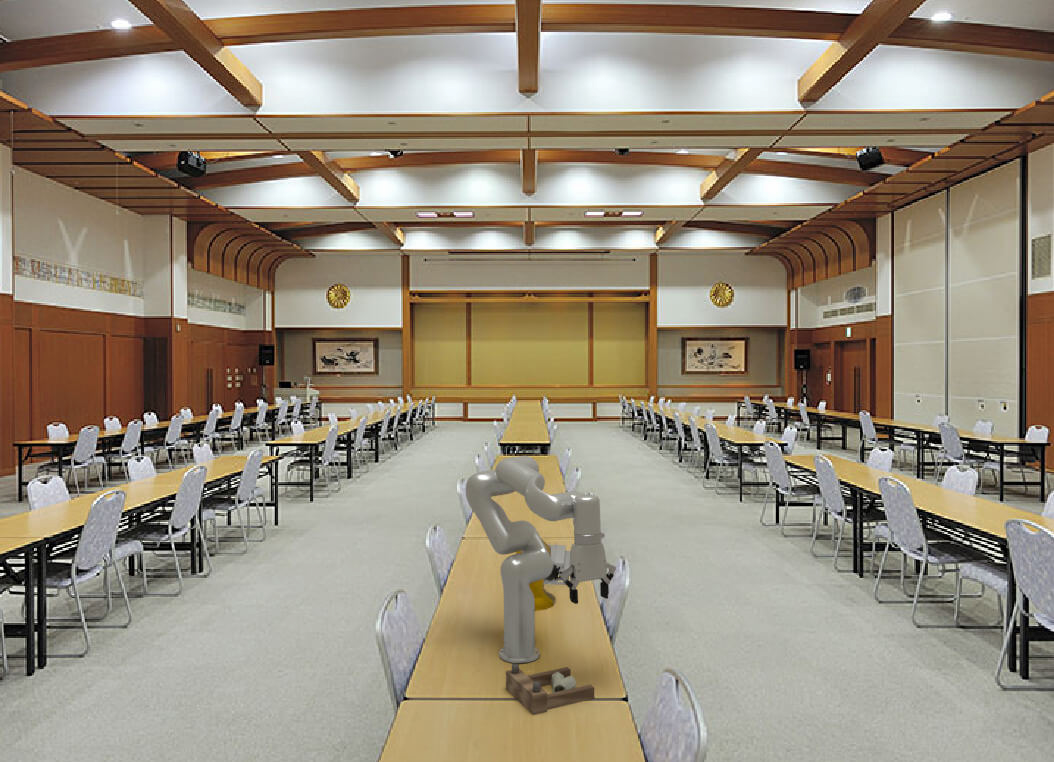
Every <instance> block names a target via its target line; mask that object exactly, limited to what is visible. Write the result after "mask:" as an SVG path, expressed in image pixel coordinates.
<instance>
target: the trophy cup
mask: <svg viewBox="0 0 1054 762" xmlns="http://www.w3.org/2000/svg"><path fill="white" fill-rule="evenodd" d="M542 541H543V543H544V545H545V547H546V549H547V551H548V553H549V555H550V557H551V547H550V546H549V543H547V542H545V540H543V539H542ZM518 553H522V552H521V551H519V552H515V554H518ZM529 587H530V589H531V591H532V593H533V595H534V602H535V612H538V611H545V610H549V609H551V608H553V607H554V606H555V604H556V603H557V602H556V599H557V598H556V597H555V595H554V594H552V593H550V592H548V591H547V590H546V589H545V584H544V579H542V580H539V581H535V582H532V583H530V584H529Z"/></svg>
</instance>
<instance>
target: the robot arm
mask: <svg viewBox="0 0 1054 762" xmlns="http://www.w3.org/2000/svg"><path fill="white" fill-rule="evenodd" d="M545 484H546V481H545V477H544V475H543V474H542V473H541V472H540V467H539V464H538V462H537V461H536V460H535V459H534V458H533V457H531V456H528V455H521V456H514V457H513V456H511V457H506V458H503V459H501V460H499V462H497V464H496V466H495V469H491V470H490V469H489V470H483V471H478V472H476V473H474V474H472V475H470V476H469V477H468V478H467V481H466V483H465V496H466V497H465V498H466V501H467V503H468V505H469V507H470V509H471V510H472V512H473V513H474V514H475V516H476V517H477V519H478V521H479V522H480V524H481V526H482V528H483V531H484V532H485V534H486V537H487V539H488V540H489V543H490V545H491V547H492V549H493V550H494V552H495V553H497V554H499V555H509V556H508V557H506V558H505V559H504V560H503V561H502V562H501V565H500V571H499V572H500V577H501V582H502V583H501V584H502V588H503V637H502V640H503V647H502V648H501V649H499V650H498V653H499V654H498V656H499V658H500V659H501V660H503V661H505V662H508V663H513V664H525V663H531V662H534V661H536V660H538V658H539V657H540V655H541V653H540V650H539V648H537V647H536V646H535V645H536V643H535V642H536V641H535V640H536V637H535V636H536V635H535V634H536V633H535V632H536V631H535V629H536V628H535V627H536V626H535V624H536V623H535V621H536V619H535V612H536V611H535V602H534V595H533V593H532V591H531V589H530V587H529V584H530V583H532V582H535V581H539V580H542V579H545V578H547V577H548V576H550V574H551V573H552V569H553V564H552V560H551V557H550V555H549V553H548V551H547V549H546V547H545V545H544V543H543V541H544V540H543V538H542V537H541V536H540V534H539V532H538V530H537V528H536V527H535V526H534V525H533V524H532V523H530V522H529V521H527V520H515V521H511V520H510V519H509V517H508V515H507V514H506V512H505V510H504V508H503V507H502V506H501V505H500V504H499V503H498V502H496V501H495V500H494V499H492V498H493V497H498V496H504V495H505V496H506V495H509V494H513V493H515V492H516V493H518V494H520V495H522V496H523V497H524V501H525V503H526V505H527V507H528V509H529V510H530V511H531V512H532V513H533V514H535V515H537V516H538V517H540V518H542V519H544V520H545V521H549V522H558V521H561V520H563V521H564V520H567V519H568V520H569V519H573V537H574V538H573V539H574V543H573V544H571V547H570V550H569V551H570V561H569V568H568V569H567V570H565V571H564V572H563V573H561V574H560V576H561V578H562V580H563V582H564V583H565V584H566V586H567V588H569V590H568V591H569V601H570V602H571V603H573V604H575V605H578V604H579V591H578V588H577V587H578V585H579V584H580V583H582V582H588V581H589V582H590V581H596V580H600V581H601V582H600V585H599V587H600V589H599V591H600V597H601V598H604V599H605V600H608V599H609V595H610V594H609V592H610V590H609V587H610V586H609V585H610V583H611V581H612V579H613V578H614V576H615V572H616V570H617V567H616V566H615V565H613V564H610V563H608V562H607V556H606V552H605V547H604V542H602V539H604V538H605V536H606V535H605V533H604V532H601V530H602V529H601V501H600V498H599V496H598V495H595V494H588V493H587V494H584V493H581V492H578V491H566V492H559V493H552V494H550V493H547V492H546V491H544V489H545V486H546V485H545ZM542 540H543V541H542ZM519 551H521V552H522V553H518V554H516V552H519ZM514 553H515V554H514ZM510 554H511V555H510ZM568 575H569V576H570V578H571V580H570V581H569V580H568Z"/></svg>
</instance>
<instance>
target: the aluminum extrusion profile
mask: <svg viewBox="0 0 1054 762" xmlns="http://www.w3.org/2000/svg"><path fill="white" fill-rule="evenodd" d="M548 545H549V546H550V547H551V560H552V564H553V569H552V573H551V574H550V576H548V577H547V578H545V579H544V585H558V586H559V585H562V586H565V585H566V584H565V583H564V582H558V581H563V580H562V578H561V576H560V574H561V573H563V572H564V571H565V570H567V569H568V568H569V561H570V551H571V550H566V547H567V545H565V544H564V545H563V544H557V543H556V542H555V543H554V544H551V543H550V542H549V543H548ZM558 575H559V577H558ZM571 579H572V578H570V580H571ZM568 580H569V575H568ZM566 586H567V585H566Z"/></svg>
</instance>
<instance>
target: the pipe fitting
mask: <svg viewBox="0 0 1054 762" xmlns="http://www.w3.org/2000/svg"><path fill="white" fill-rule="evenodd" d="M550 685H552V693H555V692H559V691H563V690H568V689H572V688H576V686H577V681H576V679H575V677H574V676H572V675H571V676H568V677H566V678H564V675H562V674H561V673H559V672H556V673H554V674H552V677H551V684H550Z"/></svg>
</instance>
